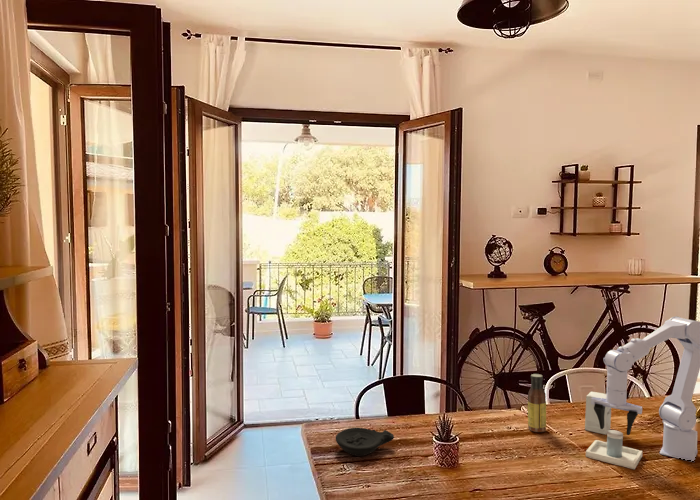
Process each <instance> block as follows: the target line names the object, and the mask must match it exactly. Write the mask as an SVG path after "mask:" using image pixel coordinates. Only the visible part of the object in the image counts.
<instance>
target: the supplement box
mask: <svg viewBox="0 0 700 500" xmlns="http://www.w3.org/2000/svg"><path fill="white" fill-rule="evenodd" d="M606 394H607V393H603V392H596V391H590V392H589V393H588V394H586V396H585V397H586V399H585V413H584V414H585V415H584V416H585V419H584V420H585V421H584V430H585V431H588V432H592V433H597V434H602V435H606V436H607V431H608V430H611V425H612V424H611V423H612V419H611V418H612V408H610V407H605V414H604V428H603V429H600V423H599V420H598V417H597V414H596V412H595V410H594V406H595V405H592V404H591V398H592V397H595V398H604V399H606Z"/></svg>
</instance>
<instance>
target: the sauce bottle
mask: <svg viewBox="0 0 700 500" xmlns="http://www.w3.org/2000/svg"><path fill="white" fill-rule="evenodd" d="M530 379H531V380H530V381H531V382H530V384H531V385H530V387H529V388H530V389H529V391H528V393H527V394H528V395H527V425H528V427H527V428H528V430H530V431H531V432H534V433H545V432H546V429H547V401H546V399H547V398H546V395H547V394H546V391H545V390H544V387H543V380H544V377H543V375H542V374H539V373H533V374H532V373H531V375H530Z"/></svg>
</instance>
